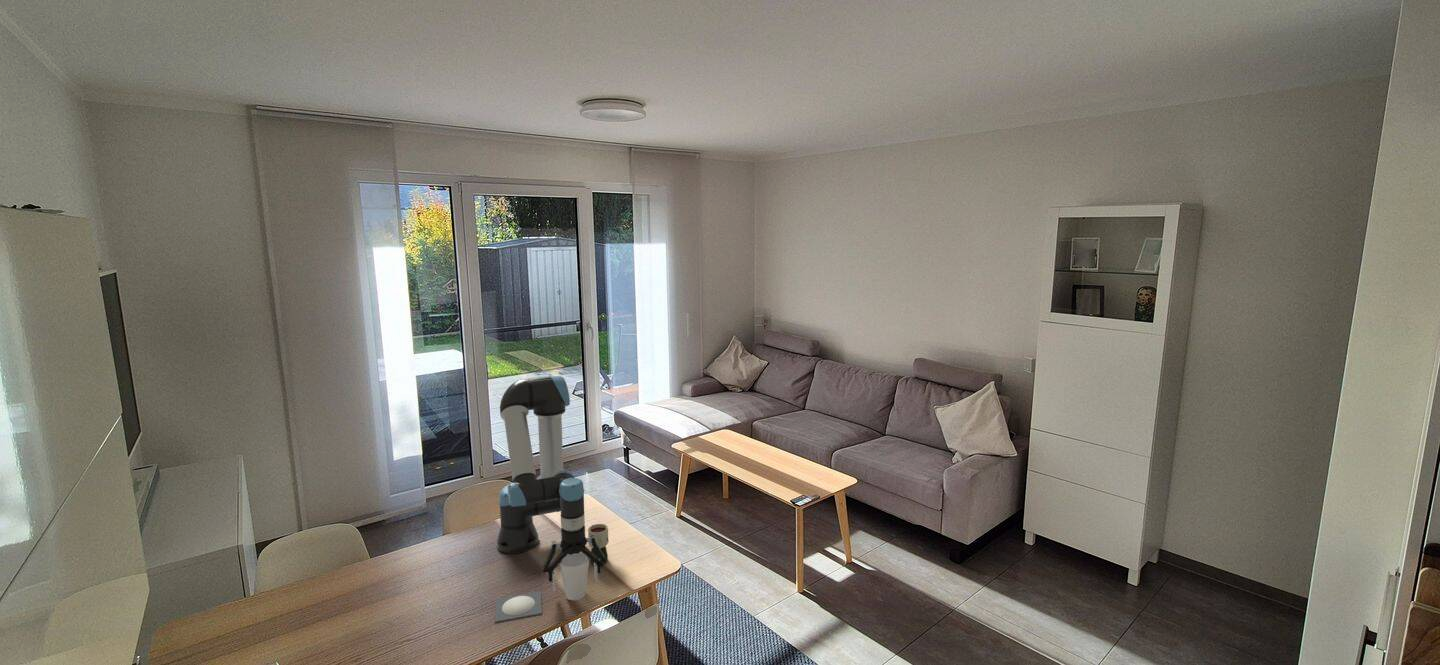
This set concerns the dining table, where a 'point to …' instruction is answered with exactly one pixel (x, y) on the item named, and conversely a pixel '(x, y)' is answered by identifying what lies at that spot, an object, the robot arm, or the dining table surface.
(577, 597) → the foam cup
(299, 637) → the dining table surface
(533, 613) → the mat
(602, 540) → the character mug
